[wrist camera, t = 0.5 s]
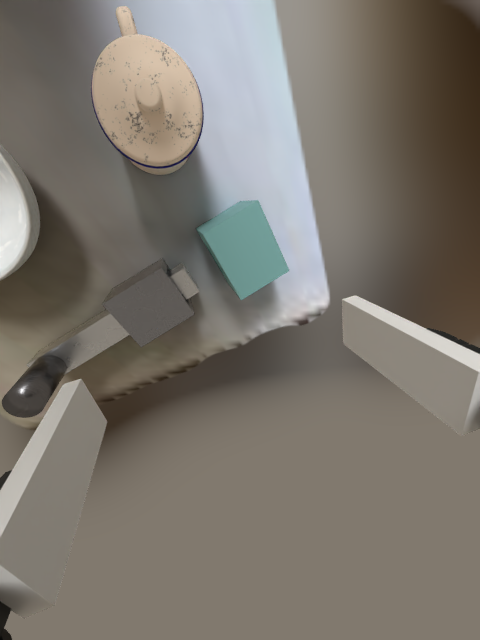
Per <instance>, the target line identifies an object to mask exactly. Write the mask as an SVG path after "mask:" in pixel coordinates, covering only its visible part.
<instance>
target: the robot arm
mask: <svg viewBox="0 0 480 640" xmlns="http://www.w3.org/2000/svg"><path fill="white" fill-rule="evenodd" d="M342 309H343V310H342V312H343V344H344V345H346V346H347V347H348V348H350V349H351V350H352V351H353V352H355V353H356V354H357V355H359V356H360V357H361V358H362V359H364V360H365V361H366V362H367V363H369V364H370V365H371V366H373V367H374V368H375V369H376V370H378V371H379V372H380V373H382V374H383V375H384V376H385V377H387V378H388V379H389V380H391V381H392V382H393V383H394V384H396V385H397V386H398V387H399V388H401V389H402V390H403V391H404V392H406V393H407V394H408V395H410V396H411V397H412V398H413V399H415V400H416V401H417V402H419V403H420V404H421V405H422V406H424V407H425V408H426V409H428V410H429V411H430V412H431V413H433V414H434V415H435V416H437V417H438V418H439V419H440V420H442V421H443V422H444V423H445V424H447V425H448V426H449V427H451V428H452V429H453V430H454V431H456V432H457V433H458V434H459V435H461V436H463V435H465V434H468V433H470V432H473V431H475V430H477V429H480V348H478V347H476V346H474V345H469V344H468V343H467V342H465V341H463V340H461V339H460V340H458V339H457V338H456V337H454V336H452V335H450V334H447V333H445V332H442V331H438V330H434V329H430V328H427V329H425V328H423V327H421V326H419V325H417V324H415V323H412V322H410V321H408V320H406V319H404V318H402V317H400V316H398V315H395V314H393V313H391V312H389V311H387V310H385V309H383V308H381V307H379V306H377V305H374V304H372V303H370V302H368V301H366V300H364V299H362V298H360V297H358V296H352V297H348V298H345V299H342ZM106 425H107V421H106V419H105V417H104V415H103V414H102V412H101V410H100V409H99V407H98V405H97V404H96V402H95V400H94V399H93V397H92V395H91V394H90V392H89V390H88V389H87V387H86V385H85V384H84V382H83V381H82V379H78V380H75V381H72V382H68V383H65V384H63V386H62V387H61V389H60V391H59V392H58V394H57V396H56V398H55V399H54V401H53V403H52V404H51V406H50V408H49V409H48V411H47V413H46V414H45V416H44V418H43V419H42V421H41V423H40V424H39V426H38V428H37V429H36V431H35V433H34V435H33V436H32V438H31V440H30V441H29V443H28V445H27V446H26V448H25V450H24V452H23V453H22V455H21V457H20V458H19V460H18V461H17V463H16V465H15V467H14V468H13V470H11V471H8V472H5V474H4V475H3V476H2V477H1V478H0V640H12V638H11V635H10V634H9V633H8V632H7V630H6V629H4V626H5V624H6V621H7V619H8V616H9V614H10V611H13V612H15V613H16V614H18V615H19V616H21V617H22V618H27V617H29V616H31V615H34V614H36V613H39V612H41V611H43V610H46V609H48V608H51V607H53V606H55V603H56V599H57V596H58V592H59V588H60V585H61V581H62V578H63V575H64V571H65V568H66V564H67V561H68V557H69V554H70V550H71V547H72V543H73V540H74V536H75V533H76V529H77V526H78V522H79V519H80V515H81V512H82V508H83V505H84V501H85V498H86V494H87V491H88V487H89V484H90V480H91V477H92V474H93V470H94V467H95V463H96V459H97V456H98V453H99V448H100V446H101V442H102V439H103V435H104V432H105V428H106Z"/></svg>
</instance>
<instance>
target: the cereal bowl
mask: <svg viewBox="0 0 480 640" xmlns="http://www.w3.org/2000/svg"><path fill="white" fill-rule="evenodd" d="M39 232H40V212H39V207H38V203H37V200H36V196H35V194H34V191H33V189H32V186H31V185H30V183H29V181H28V179H27V177H26V175H25V174H24V172H23V171H22V169H21V168H20V166H19V165H18V164H17V162H16V161H15V160H14V159H13V157H12V156H11V155H10V154H9V153H8V152H7V151H6V149H5V148H3V146H2V145H1V144H0V281H1V280H2V279H5V278H6V277H8V276H10V275H11V274H12V273H13V272H15V271H16V270H18V269H19V268H20V267H21V266H22V265H23V264H24V263H25V262H26V261H27V259H28V258H29V257H30V256H31V254H32V252H33V250H34V249H35V246H36V243H37V241H38V237H39Z"/></svg>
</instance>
